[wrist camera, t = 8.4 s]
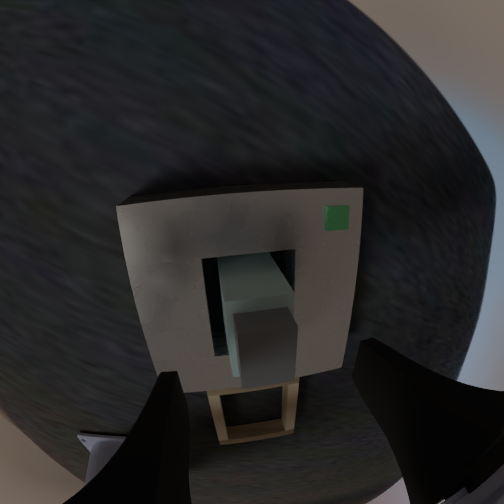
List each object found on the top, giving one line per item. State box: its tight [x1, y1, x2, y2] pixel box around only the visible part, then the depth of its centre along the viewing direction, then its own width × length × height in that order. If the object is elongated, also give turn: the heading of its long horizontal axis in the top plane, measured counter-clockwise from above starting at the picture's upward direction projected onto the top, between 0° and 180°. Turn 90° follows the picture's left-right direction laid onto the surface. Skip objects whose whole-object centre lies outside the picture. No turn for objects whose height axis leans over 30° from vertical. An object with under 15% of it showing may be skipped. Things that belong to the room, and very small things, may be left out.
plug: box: [217, 252, 298, 389], centre depth 14 cm, size 4×3×6 cm, turn 2°
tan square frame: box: [207, 377, 299, 445], centre depth 20 cm, size 8×7×2 cm
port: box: [116, 181, 363, 393], centre depth 16 cm, size 12×12×3 cm
